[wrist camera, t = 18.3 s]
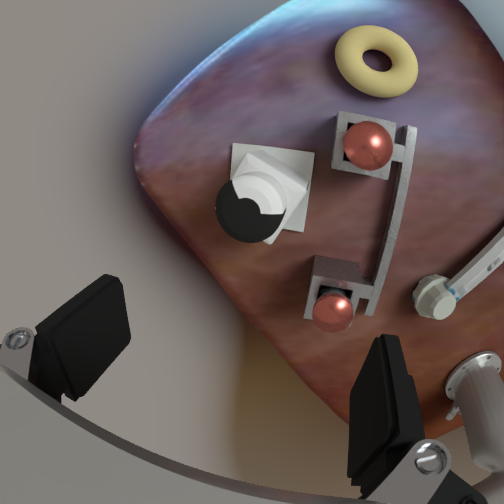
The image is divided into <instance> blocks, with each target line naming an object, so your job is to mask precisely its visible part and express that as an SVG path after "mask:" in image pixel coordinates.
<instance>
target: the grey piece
mask: <svg viewBox="0 0 504 504" xmlns="http://www.w3.org/2000/svg"><path fill="white" fill-rule="evenodd" d="M503 261H504V227H503V228H502V230H501V231H500V232H499V233H498V234H497V235H496V236H495V237H494V238H493V239H492V240H491V241H490V242H489V243H488V244H487V245H486V246H485V247H484V248H483V250H482V251H481V252H480V253H479V254H478V255H476V256H475V257H474V258H473V259H472V260H471V261H470V262H469V263H468V264H467V265H466V266H465V267H464V268H463V269H462V270H461V271H460V272H459V273H458V274H456V275H455V276H454V277H453V278H452V279H451V280H450V279H449V278H446V277H443V276H440V275H437V274H434V275H431V276H425V277H424V278H423V279H421V280H420V281H419V282H418V283H419V284H418V286H417V287H416V289H415V291H413V296H412V299H413V301H414V303H415V306H414V307H415V308H416V310H417V312H418V313H419V315H420V316H424V317H431V318H433V319H437V320H441V319H444V318H446V317H448V316H449V315H450V314H451V313H452V312H453V310H454V308H455V305H456V302H457V301H458V300H459V299H461V298H462V297H463V296H464V295H466V294H467V293H468V292H469V291H471V290H472V289H473V288H474V287H475V286H477V285H478V284H479V283H480V282H481V281H482V280H484V279H485V278H486V277H487V276H488V275H489V274H490V273H492V272H493V271H494V270H495V269H496V268H497V267H498V266H499V265H500V264H501V263H502V262H503Z"/></svg>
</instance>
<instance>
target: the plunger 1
mask: <svg viewBox="0 0 504 504" xmlns="http://www.w3.org/2000/svg"><path fill="white" fill-rule="evenodd" d="M353 315H354V313H353V305H352V303H351V301H350V300H349V299H348V298H347V297H346V293H345V289H342V288H337V287H331V286H325V285H320V298H318V299H317V300H316V302H315V303H314V306H313V312H312V318H313V321H314V323H315V325H316V326H317V327H318V328H320V329H321V330H324V331H327V332H337V331H341V330H343V329H345V328H346V327H348V326H349V325H350V323H351V322H352V320H353Z"/></svg>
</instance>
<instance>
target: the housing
mask: <svg viewBox="0 0 504 504" xmlns="http://www.w3.org/2000/svg"><path fill="white" fill-rule="evenodd" d="M362 121H372V122H376V123H378V124H380V125H381V126H383V127H384V128H385V129H386V130H387V131H388V133H389V134H390V136H391V139H392V142H393V153H392V156H391V158H390V160H389V162H388V163H387V164H386V165H385V166H384V167H382V168H380V169H377V170H372V171H368V170H363V169H361V168H359V167H357V166H355V165H354V164H353V163H352V162H351V161H350V160H349V159H347V158H343V155H344V137H345V134H346V132H347V126H353V125H354V124H356V123H359V122H362ZM396 124H397V123H394V122H390V121H386V120H382V119H378V118H373V117H369V116H364V115H359V114H354V113H349V112H343V111H338V113H337V115H336V121H335V130H334V138H333V146H332V154H331V161H330V165H331V168H332V169H338V170H343V171H348V172H354V173H359V174H364V175H368V176H373V177H378V178H382V179H387V180H388V178H389V173H390V167H391V160H394V161H398V168H397V174H396V180H395V185H394V190H393V195H392V200H391V205H390V210H389V215H388V219H387V223H386V228H385V232H384V236H383V240H382V244H381V248H380V252H379V255H378V259H377V263H376V266H375V270H374V273H373V277H372V279H368V278H362V275H361V270H360V266H359V263H357V262H351V261H346V260H340V259H335V258H329V257H324V256H318V255H315V257H314V263H313V268H312V273H311V278H310V282H309V287H308V292H307V298H306V305H305V312H304V318H305V319H311V320H313V318H312V312H313V306H314V303H315V302H316V300H317V299H318V298H320V290H319V286H320V285H325V286H331V287H337V288H342V289H345V293H346V297H347V298H348V299H349V300H350V301H351V303H352V305H353V313H354V314H355V311H356V308H357V305H358V301H359V298H365V299H366V300H365V303H364V306H363V309H364V315H370V316H373V313H374V310H375V308H376V305H377V302H378V299H379V296H380V293H381V290H382V287H383V283H384V280H385V277H386V274H387V270H388V267H389V264H390V260H391V257H392V253H393V250H394V246H395V242H396V238H397V234H398V230H399V226H400V222H401V218H402V214H403V209H404V205H405V200H406V195H407V190H408V185H409V180H410V174H411V168H412V162H413V156H414V149H415V142H416V134H417V128H415V127H412V126H403V134H402V142H401V145H399V144H395V143H394V140H395V132H396ZM353 317H354V315H353ZM351 323H352V322H351ZM351 323H350V325H349V326H351Z"/></svg>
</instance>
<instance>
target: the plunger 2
mask: <svg viewBox="0 0 504 504" xmlns="http://www.w3.org/2000/svg"><path fill="white" fill-rule="evenodd" d="M344 151H345V153H346V156H347V157H348V159H349V160H350V161H351V162H352V163H353V164H354V165H355V166H357V167H359V168H361V169H363V170H368V171H372V170H377V169H380V168H382V167H384V166H385V165H386V164H387V163H388V162H389V160H390V158H391V156H392V153H393V142H392V139H391V136H390V134H389V133H388V131H387V130H386V129H385V128H384V127H383V126H381V125H380V124H378V123H376V122H372V121H362V122H359V123H356V124H354V125H353V126H351V127H350V128H349V129H348V131H347V132H346V134H345V137H344Z"/></svg>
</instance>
